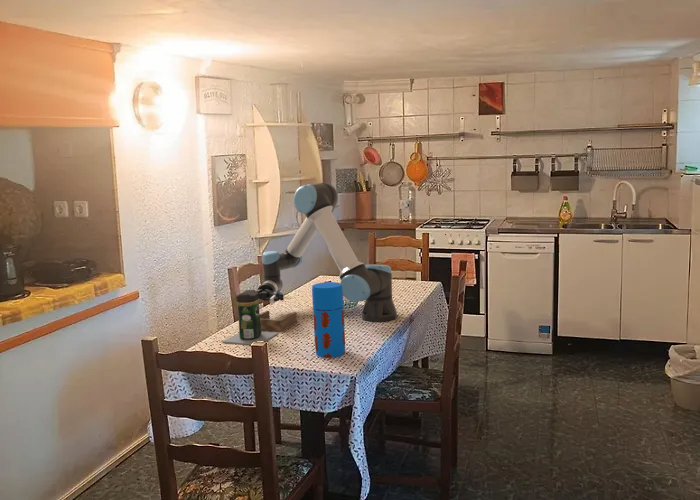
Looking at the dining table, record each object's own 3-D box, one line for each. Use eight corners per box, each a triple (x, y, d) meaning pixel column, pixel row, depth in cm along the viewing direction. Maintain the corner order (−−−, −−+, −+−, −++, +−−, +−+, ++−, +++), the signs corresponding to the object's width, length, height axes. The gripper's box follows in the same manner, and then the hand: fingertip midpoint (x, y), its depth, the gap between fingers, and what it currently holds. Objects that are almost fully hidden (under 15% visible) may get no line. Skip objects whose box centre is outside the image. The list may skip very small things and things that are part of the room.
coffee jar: (244, 333, 271) (241, 288, 268) (263, 333, 269) (260, 288, 267) (236, 340, 261) (233, 293, 259) (256, 340, 260) (253, 293, 257)
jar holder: (297, 322, 287) (296, 312, 286) (281, 331, 274) (280, 320, 273) (267, 320, 292) (266, 310, 292) (250, 329, 279) (250, 318, 279)
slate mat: (278, 334, 270) (278, 332, 270) (258, 345, 255) (258, 344, 255) (243, 331, 276) (243, 330, 276) (222, 342, 261) (222, 341, 261)
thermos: (341, 358, 235) (338, 288, 231) (312, 357, 237) (308, 288, 234) (348, 349, 246) (344, 281, 242) (319, 348, 248) (316, 282, 244)
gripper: (295, 298, 292) (285, 310, 271) (240, 299, 295) (225, 311, 275) (294, 281, 291) (284, 292, 270) (239, 283, 294) (224, 293, 273)
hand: (254, 302), depth 272 cm, fingers open, 13 cm apart
